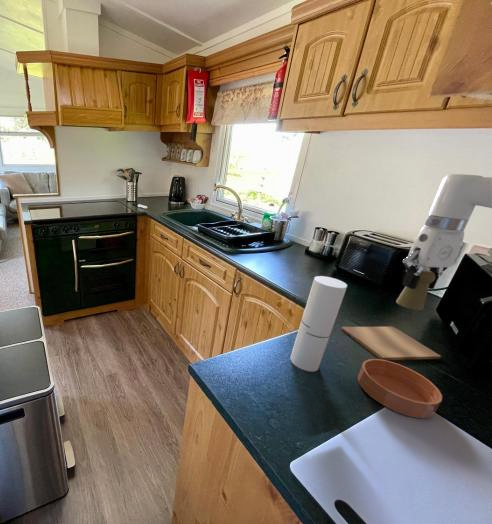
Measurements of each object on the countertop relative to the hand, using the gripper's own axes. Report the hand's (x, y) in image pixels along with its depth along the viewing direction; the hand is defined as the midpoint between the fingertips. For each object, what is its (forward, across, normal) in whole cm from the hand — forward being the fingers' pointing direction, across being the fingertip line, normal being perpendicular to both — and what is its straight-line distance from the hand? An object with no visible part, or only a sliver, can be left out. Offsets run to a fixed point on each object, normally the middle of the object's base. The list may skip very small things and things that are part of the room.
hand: (417, 286), depth 81 cm
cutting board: (+22, +4, +4) cm, 23 cm away
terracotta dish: (+22, -16, -16) cm, 31 cm away
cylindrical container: (+22, -32, -4) cm, 39 cm away
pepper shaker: (+6, 0, 0) cm, 6 cm away
